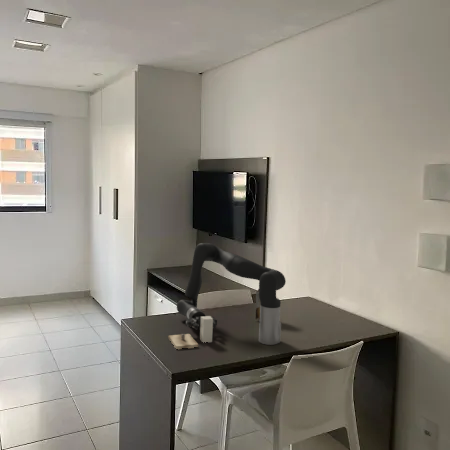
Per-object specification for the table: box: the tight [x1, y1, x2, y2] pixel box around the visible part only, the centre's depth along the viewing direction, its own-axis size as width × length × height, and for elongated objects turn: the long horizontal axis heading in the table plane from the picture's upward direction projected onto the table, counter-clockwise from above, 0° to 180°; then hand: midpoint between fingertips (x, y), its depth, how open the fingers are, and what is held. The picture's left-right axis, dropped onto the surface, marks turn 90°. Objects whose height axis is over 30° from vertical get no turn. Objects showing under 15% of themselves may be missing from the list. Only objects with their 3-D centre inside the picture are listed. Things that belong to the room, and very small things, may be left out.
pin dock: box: [167, 333, 199, 350], centre depth 214 cm, size 10×14×4 cm
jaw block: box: [199, 315, 214, 344], centre depth 217 cm, size 4×4×11 cm
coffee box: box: [254, 288, 260, 322], centre depth 251 cm, size 9×6×16 cm
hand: (206, 326), depth 218 cm, fingers open, 8 cm apart
